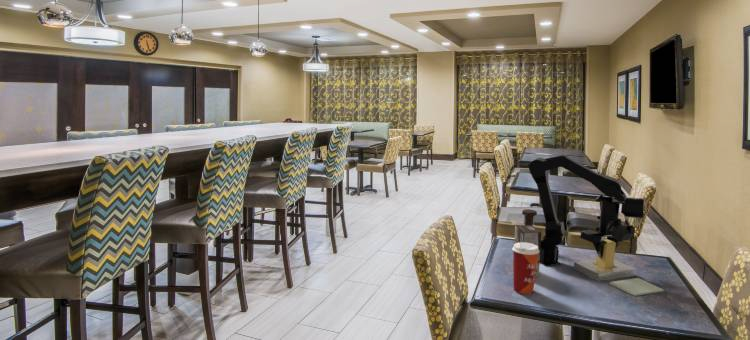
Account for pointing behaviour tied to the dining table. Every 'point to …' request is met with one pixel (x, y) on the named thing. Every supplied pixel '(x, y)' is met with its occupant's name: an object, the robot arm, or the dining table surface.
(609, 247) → the peg
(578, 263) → the square hole plate
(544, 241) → the robot arm
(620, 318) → the dining table surface
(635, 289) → the pad
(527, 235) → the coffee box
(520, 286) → the coffee cup
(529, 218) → the bolt
